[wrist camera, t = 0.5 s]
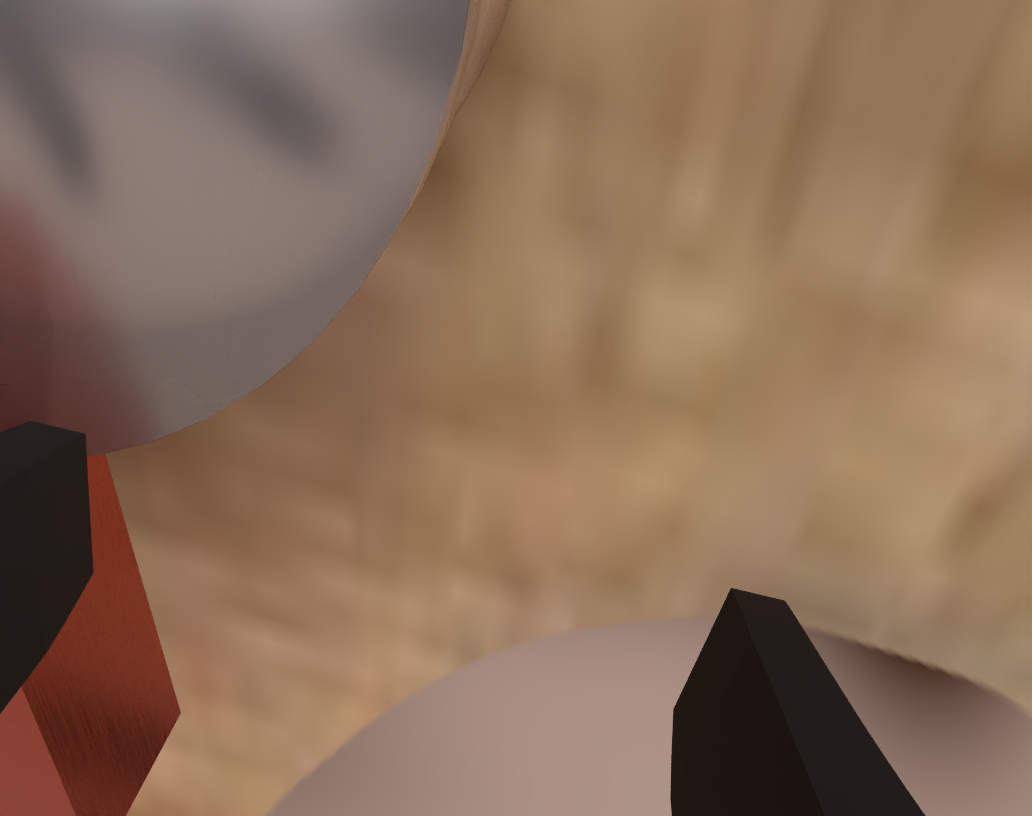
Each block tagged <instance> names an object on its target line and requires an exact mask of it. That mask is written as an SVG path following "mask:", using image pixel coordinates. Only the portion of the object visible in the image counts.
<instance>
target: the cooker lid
mask: <svg viewBox="0 0 1032 816" xmlns="http://www.w3.org/2000/svg"><path fill="white" fill-rule="evenodd" d="M481 5H482V0H0V432H2V431H5V430H7V429H10V428H12V427H15V426H17V425H20V424H23V423H25V422H28V421H34V422H39V423H43V424H47V425H51V426H55V427H60V428H64V429H68V430H72V431H76V432H81V433H85V434H86V450H87V468H88V485H89V502H90V519H91V537H92V554H93V571H94V573H93V575H92V576H91V578H90V580H89V582H88V583H87V585H86V587H85V589H84V590H83V592H82V594H81V596H80V598H79V599H78V601H77V603H76V605H75V606H74V608H73V610H72V612H71V613H70V615H69V617H68V619H67V620H66V622H65V623H64V625H63V627H62V628H61V630H60V632H59V633H58V635H57V637H56V638H55V640H54V642H53V643H52V645H51V646H50V648H49V650H48V651H47V653H46V654H45V656H44V657H43V658H42V660H41V661H40V662H39V664H38V665H37V666H36V668H35V669H34V670H33V672H32V673H31V674H30V676H29V677H28V678H27V680H26V681H25V682H24V684H23V685H22V686H21V688H20V689H19V690H18V691H17V693H16V694H15V695H14V697H13V698H12V699H11V701H10V702H9V703H8V705H7V706H6V707H5V709H4V710H3V711H2V712H1V714H0V816H126V814H127V813H128V811H129V809H130V807H131V805H132V803H133V801H134V800H135V798H136V796H137V794H138V792H139V790H140V788H141V786H142V785H143V783H144V781H145V779H146V777H147V775H148V773H149V771H150V770H151V768H152V766H153V764H154V762H155V760H156V758H157V757H158V755H159V753H160V751H161V749H162V747H163V745H164V743H165V742H166V740H167V738H168V736H169V734H170V732H171V730H172V729H173V727H174V725H175V723H176V721H177V719H178V717H179V715H180V714H181V712H180V709H179V705H178V702H177V698H176V695H175V692H174V688H173V685H172V681H171V678H170V675H169V671H168V668H167V664H166V661H165V658H164V654H163V651H162V647H161V644H160V640H159V637H158V634H157V630H156V627H155V623H154V620H153V617H152V613H151V610H150V606H149V603H148V600H147V596H146V593H145V589H144V586H143V582H142V579H141V576H140V572H139V569H138V565H137V562H136V559H135V555H134V552H133V548H132V545H131V542H130V538H129V535H128V531H127V528H126V524H125V521H124V518H123V514H122V511H121V507H120V504H119V501H118V497H117V494H116V490H115V487H114V484H113V480H112V477H111V473H110V470H109V466H108V463H107V460H106V456H105V453H109V452H113V451H116V450H120V449H124V448H128V447H132V446H136V445H140V444H144V443H148V442H152V441H154V440H157V439H159V438H162V437H164V436H166V435H169V434H171V433H174V432H176V431H178V430H181V429H183V428H185V427H188V426H190V425H193V424H195V423H197V422H200V421H202V420H205V419H207V418H209V417H211V416H213V415H214V414H216V413H218V412H219V411H221V410H222V409H224V408H226V407H227V406H229V405H231V404H232V403H234V402H236V401H237V400H239V399H240V398H242V397H244V396H245V395H247V394H249V393H250V392H252V391H254V390H255V389H257V388H259V387H260V386H262V385H263V384H264V383H266V382H267V381H268V380H269V379H270V378H271V377H273V376H274V375H275V374H276V373H277V372H279V371H280V370H281V369H282V368H283V367H284V366H286V365H287V364H288V363H289V362H290V361H291V360H293V359H294V358H295V357H296V356H297V355H299V354H300V353H301V352H302V351H303V350H304V349H306V348H307V347H308V346H309V345H310V344H311V343H313V342H314V340H315V339H316V338H317V337H318V336H319V335H320V333H321V332H322V331H323V330H324V329H325V328H326V326H327V325H328V324H329V323H330V322H331V321H332V319H333V318H334V317H335V316H336V315H337V314H338V312H339V311H340V310H341V309H342V308H343V307H344V305H345V304H346V303H347V302H348V301H349V300H350V298H351V297H352V296H353V295H354V294H355V293H356V291H357V290H358V289H359V288H360V286H361V284H362V283H363V281H364V280H365V278H366V277H367V275H368V274H369V272H370V271H371V269H372V268H373V266H374V265H375V263H376V262H377V260H378V259H379V257H380V256H381V254H382V253H383V251H384V249H385V248H386V246H387V245H388V243H389V241H390V240H391V238H392V237H393V235H394V233H395V232H396V230H397V229H398V227H399V225H400V224H401V222H402V221H403V219H404V217H405V216H406V214H407V213H408V211H409V209H410V208H411V206H412V205H413V203H414V201H415V200H416V198H417V196H418V195H419V193H420V192H421V189H422V187H423V185H424V183H425V180H426V178H427V176H428V173H429V171H430V169H431V167H432V164H433V162H434V160H435V158H436V155H437V153H438V151H439V149H440V146H441V144H442V142H443V140H444V137H445V135H446V133H447V131H448V128H449V126H450V124H451V122H452V119H453V115H454V112H455V108H456V105H457V101H458V98H459V95H460V91H461V88H462V84H463V81H464V77H465V74H466V71H467V67H468V64H469V60H470V57H471V54H472V50H473V47H474V43H475V40H476V35H477V29H478V23H479V17H480V11H481Z"/></svg>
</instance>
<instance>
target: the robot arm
mask: <svg viewBox="0 0 1032 816" xmlns="http://www.w3.org/2000/svg"><path fill="white" fill-rule="evenodd" d="M93 573H94V571H93V554H92V537H91V519H90V502H89V485H88V468H87V450H86V434H85V433H81V432H76V431H72V430H68V429H64V428H60V427H55V426H51V425H47V424H43V423H39V422H34V421H28V422H25V423H23V424H20V425H17V426H15V427H12V428H10V429H7V430H5V431H2V432H0V714H1V712H2V711H3V710H4V709H5V707H6V706H7V705H8V703H9V702H10V701H11V699H12V698H13V697H14V695H15V694H16V693H17V691H18V690H19V689H20V688H21V686H22V685H23V684H24V682H25V681H26V680H27V678H28V677H29V676H30V674H31V673H32V672H33V670H34V669H35V668H36V666H37V665H38V664H39V662H40V661H41V660H42V658H43V657H44V656H45V654H46V653H47V651H48V650H49V648H50V646H51V645H52V643H53V642H54V640H55V638H56V637H57V635H58V633H59V632H60V630H61V628H62V627H63V625H64V623H65V622H66V620H67V619H68V617H69V615H70V613H71V612H72V610H73V608H74V606H75V605H76V603H77V601H78V599H79V598H80V596H81V594H82V592H83V590H84V589H85V587H86V585H87V583H88V582H89V580H90V578H91V576H92V575H93ZM672 734H673V735H672V756H671V759H672V760H671V810H672V816H925V815H924V813H923V812H922V810H921V809H920V807H919V806H918V805H917V803H916V802H915V800H914V799H913V797H912V796H911V795H910V793H909V792H908V790H907V789H906V787H905V786H904V784H903V783H902V782H901V780H900V779H899V777H898V776H897V774H896V773H895V771H894V770H893V768H892V767H891V765H890V764H889V762H888V761H887V759H886V758H885V756H884V755H883V753H882V752H881V750H880V749H879V747H878V746H877V744H876V743H875V741H874V740H873V738H872V737H871V735H870V734H869V732H868V731H867V729H866V727H865V726H864V724H863V723H862V721H861V720H860V718H859V717H858V715H857V714H856V712H855V711H854V709H853V707H852V706H851V704H850V703H849V701H848V699H847V698H846V696H845V695H844V693H843V692H842V690H841V688H840V687H839V685H838V684H837V682H836V680H835V679H834V677H833V676H832V674H831V673H830V671H829V670H828V668H827V666H826V665H825V663H824V661H823V660H822V658H821V657H820V655H819V653H818V652H817V650H816V649H815V647H814V645H813V644H812V642H811V641H810V639H809V638H808V636H807V634H806V633H805V631H804V629H803V628H802V626H801V625H800V623H799V622H798V620H797V618H796V617H795V615H794V614H793V612H792V611H791V609H790V608H789V606H788V605H787V603H786V602H785V601H784V600H780V599H775V598H771V597H767V596H763V595H759V594H755V593H750V592H746V591H742V590H738V589H734V588H731V589H730V591H729V593H728V596H727V598H726V600H725V602H724V604H723V606H722V608H721V610H720V612H719V614H718V617H717V619H716V621H715V623H714V625H713V627H712V629H711V632H710V634H709V636H708V638H707V640H706V642H705V644H704V646H703V648H702V651H701V652H700V655H699V657H698V659H697V661H696V663H695V665H694V667H693V669H692V671H691V673H690V676H689V678H688V680H687V682H686V684H685V686H684V688H683V690H682V692H681V694H680V697H679V699H678V701H677V703H676V705H675V707H674V711H673V733H672Z"/></svg>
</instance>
